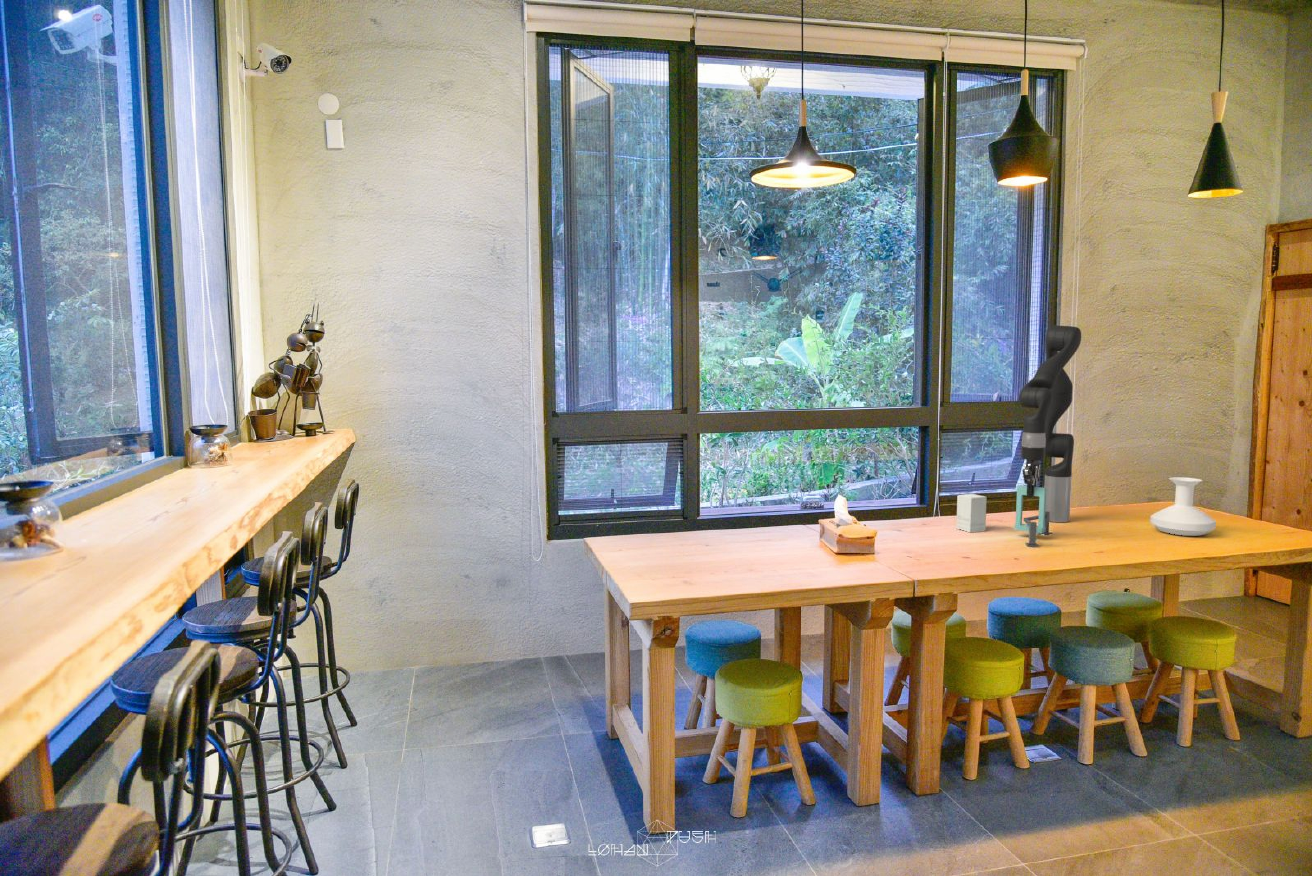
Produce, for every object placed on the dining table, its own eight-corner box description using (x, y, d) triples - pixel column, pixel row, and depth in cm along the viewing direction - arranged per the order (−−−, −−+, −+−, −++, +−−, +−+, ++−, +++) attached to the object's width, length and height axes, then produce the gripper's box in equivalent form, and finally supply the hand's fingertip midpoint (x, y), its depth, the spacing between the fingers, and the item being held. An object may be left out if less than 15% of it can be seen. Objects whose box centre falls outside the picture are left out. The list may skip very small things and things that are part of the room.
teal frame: (1018, 527, 310) (1019, 484, 308) (1045, 531, 304) (1047, 487, 302) (1014, 529, 307) (1016, 486, 305) (1041, 533, 301) (1043, 488, 299)
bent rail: (1014, 545, 294) (1015, 521, 293) (1030, 531, 316) (1031, 509, 315) (1038, 548, 290) (1039, 524, 289) (1053, 533, 312) (1054, 511, 311)
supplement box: (986, 531, 316) (987, 496, 314) (969, 533, 313) (971, 498, 312) (971, 527, 323) (973, 493, 321) (955, 529, 320) (956, 494, 319)
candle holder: (1136, 528, 320) (1139, 476, 318) (1181, 525, 325) (1184, 474, 323) (1182, 540, 301) (1186, 484, 299) (1229, 537, 306) (1232, 482, 304)
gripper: (1028, 443, 310) (1026, 491, 312) (1015, 446, 300) (1013, 496, 301) (1051, 444, 305) (1048, 494, 307) (1038, 448, 295) (1035, 499, 296)
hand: (1031, 495), depth 304 cm, fingers closed on teal frame, 1 cm apart
